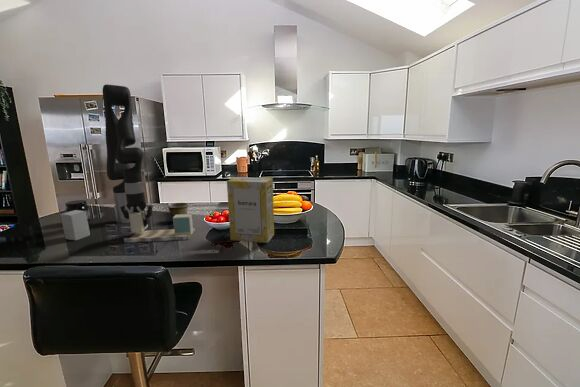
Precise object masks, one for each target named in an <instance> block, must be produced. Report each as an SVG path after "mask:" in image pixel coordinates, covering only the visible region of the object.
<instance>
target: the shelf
mask: <svg viewBox="0 0 580 387" xmlns="http://www.w3.org/2000/svg"><path fill="white" fill-rule="evenodd" d="M196 229H197V228H196V227H193V233H194V232H195V230H196ZM193 233H192V234H191V235H178V236H175V232H174V228H171V229H169V228H168V229H152V230H151V229H150V230H149V229H148V230H146V229H145V230H144V231H143V232H135V233H134V234H132V235H131V236H130V237H129V238H128V237H126V238H123V240H124V241H123V242H124V243H125V244H126V243H128V244H129V243H144V242H146V243H148V242H165V241H166V242H167V241H183V240H185V241H186V240H187V241H188V240H190V238H191V237H192V235H193Z"/></svg>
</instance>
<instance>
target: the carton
mask: <svg viewBox="0 0 580 387" xmlns="http://www.w3.org/2000/svg"><path fill="white" fill-rule="evenodd" d="M145 211H146V212H147V208H145ZM142 212H144V211H142ZM129 218H130V222H129V225H130V231H131V233H134V234H135V233H136V232H143V231H146V229H147V228H148V227H149V223H148V224H147V226H146V227H144V225H143V217H142V214H141V212H133V213H130V214H129Z"/></svg>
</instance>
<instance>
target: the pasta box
mask: <svg viewBox="0 0 580 387" xmlns="http://www.w3.org/2000/svg"><path fill="white" fill-rule="evenodd" d="M273 181H274V179H273V177H246V176H245V177H243V176H235V177H233V178H231V179H228V180H227V181H226V191H227V205H228V208H227V209H228V221H229V236H230V238H229V240H230V241H237V242H239V241H240V242H251V243H264V244H269V242H270V241H271V239H273V237H274V235H275V221H274V220H275V216H274V215H275V214H274V213H275V212H274V209H275V208H274V184H273V183H274V182H273Z"/></svg>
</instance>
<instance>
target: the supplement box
mask: <svg viewBox="0 0 580 387" xmlns="http://www.w3.org/2000/svg"><path fill="white" fill-rule="evenodd" d="M59 216H60V219H61V223H62V224H61V225H62V228H63V233H64V238H65V240H70V241H78V240H81V239H83V238H86V237H89V236H90V235H91V232H90V226H89V222H88V221H87V216H86V211H79V210H74V211H70V212H67V213H66V212H63V213H60V215H59Z"/></svg>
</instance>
